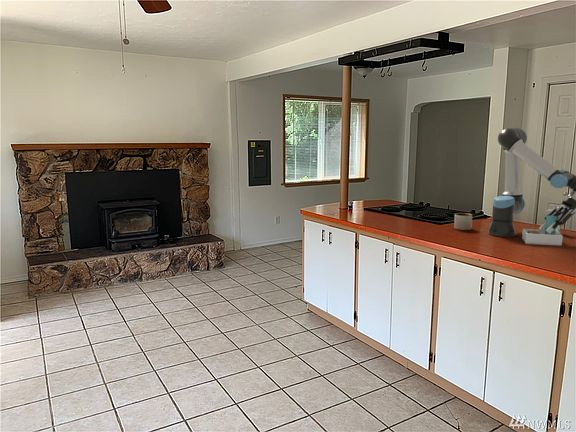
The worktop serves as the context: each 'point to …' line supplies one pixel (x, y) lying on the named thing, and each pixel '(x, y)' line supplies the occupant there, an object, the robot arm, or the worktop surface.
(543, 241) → the grey tote
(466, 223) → the planter
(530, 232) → the walnut cube
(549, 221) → the teal cylinder
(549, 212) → the syrup box
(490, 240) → the worktop surface
